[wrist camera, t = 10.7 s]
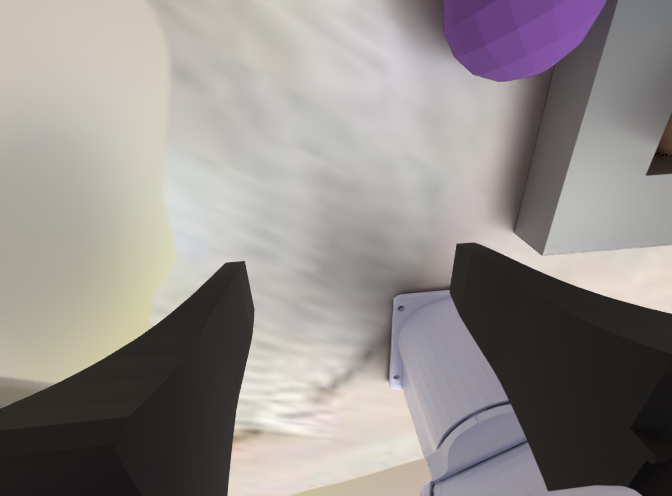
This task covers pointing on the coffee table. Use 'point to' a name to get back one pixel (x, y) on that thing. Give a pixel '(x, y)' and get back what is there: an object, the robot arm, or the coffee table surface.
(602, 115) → the socket
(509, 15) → the kendama
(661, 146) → the peg
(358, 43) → the coffee table surface
